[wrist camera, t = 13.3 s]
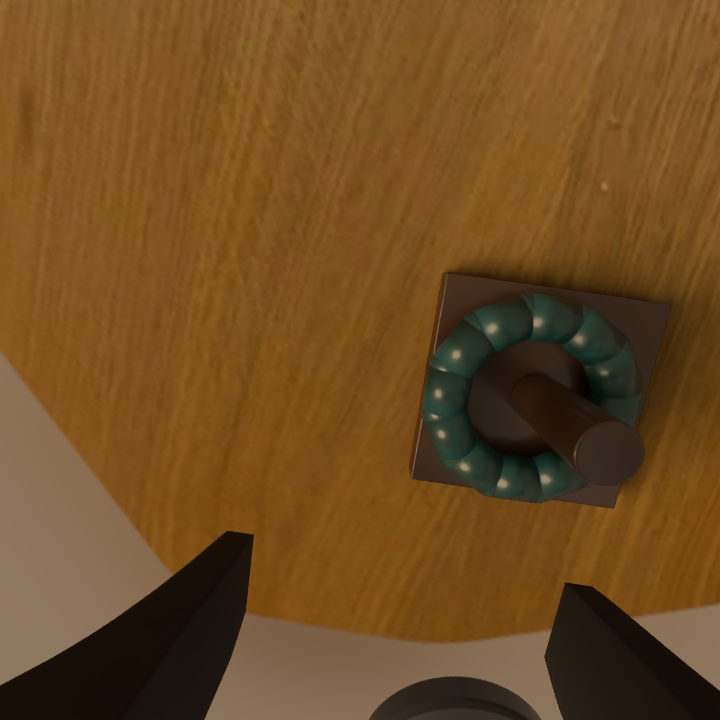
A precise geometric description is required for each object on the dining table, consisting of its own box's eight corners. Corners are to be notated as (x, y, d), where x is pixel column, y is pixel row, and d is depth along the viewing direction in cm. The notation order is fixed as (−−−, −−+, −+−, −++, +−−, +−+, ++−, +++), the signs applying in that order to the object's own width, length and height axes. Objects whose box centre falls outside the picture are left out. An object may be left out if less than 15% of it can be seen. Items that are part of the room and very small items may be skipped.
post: (600, 495, 20) (720, 614, 13) (408, 467, 20) (425, 570, 13) (653, 302, 18) (824, 321, 11) (442, 272, 19) (483, 272, 12)
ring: (597, 500, 19) (620, 523, 17) (407, 472, 19) (410, 493, 17) (649, 309, 17) (680, 313, 16) (439, 279, 17) (447, 280, 16)
